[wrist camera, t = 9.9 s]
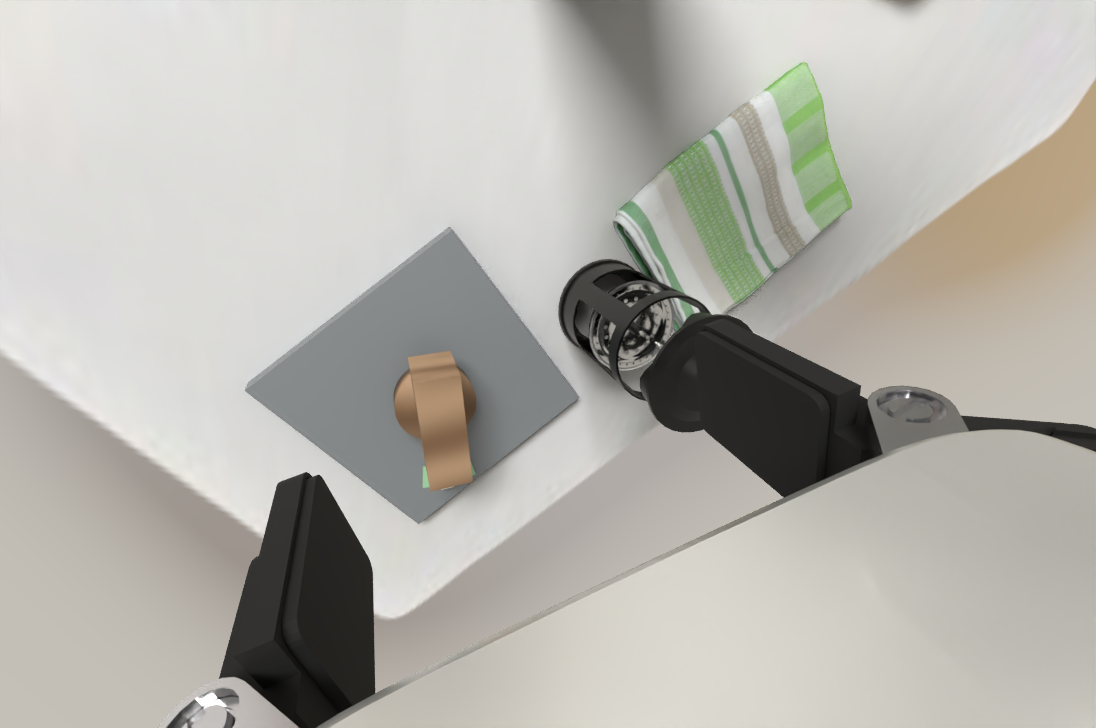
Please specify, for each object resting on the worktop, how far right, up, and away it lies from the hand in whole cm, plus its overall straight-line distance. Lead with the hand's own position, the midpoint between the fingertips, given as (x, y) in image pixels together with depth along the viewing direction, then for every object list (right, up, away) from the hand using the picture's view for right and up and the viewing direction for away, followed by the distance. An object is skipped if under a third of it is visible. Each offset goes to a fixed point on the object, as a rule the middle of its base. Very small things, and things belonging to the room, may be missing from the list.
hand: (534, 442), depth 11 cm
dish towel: (+19, +18, +38) cm, 46 cm away
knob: (-10, -3, +33) cm, 35 cm away
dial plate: (-11, 0, +34) cm, 35 cm away
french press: (+6, +8, +37) cm, 38 cm away
